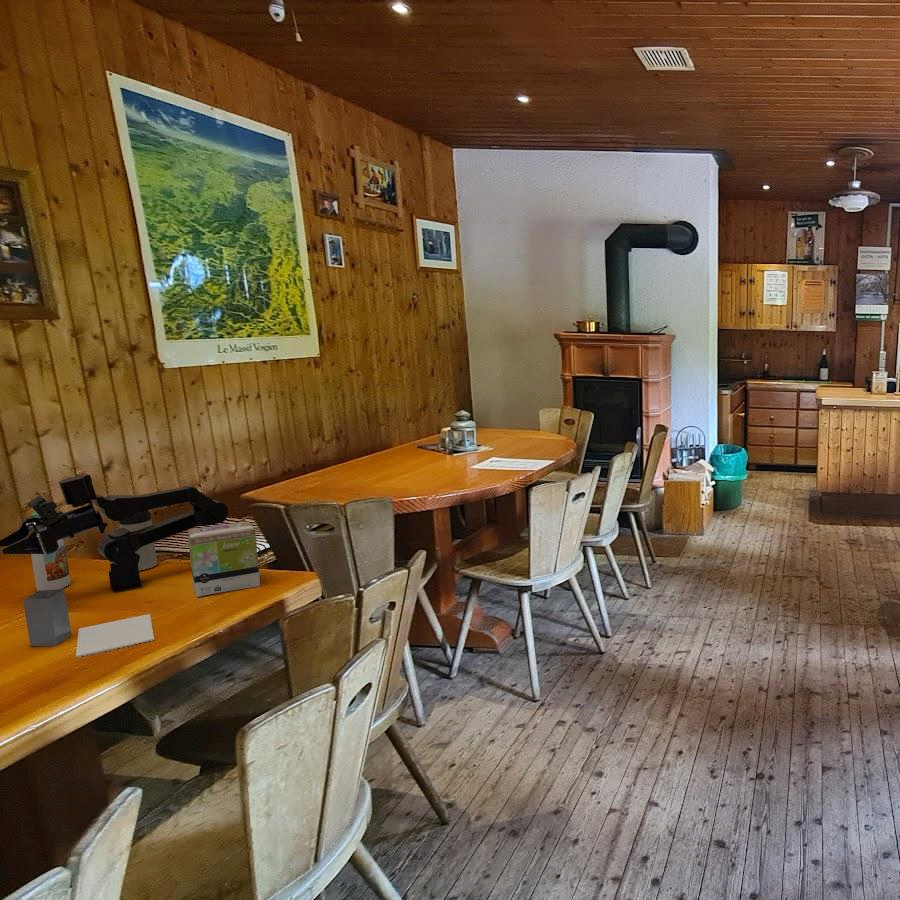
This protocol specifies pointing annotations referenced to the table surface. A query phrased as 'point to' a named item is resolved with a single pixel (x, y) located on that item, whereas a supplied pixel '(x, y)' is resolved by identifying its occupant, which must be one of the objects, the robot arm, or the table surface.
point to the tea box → (223, 558)
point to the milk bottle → (51, 568)
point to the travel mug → (146, 551)
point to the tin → (47, 617)
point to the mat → (114, 635)
